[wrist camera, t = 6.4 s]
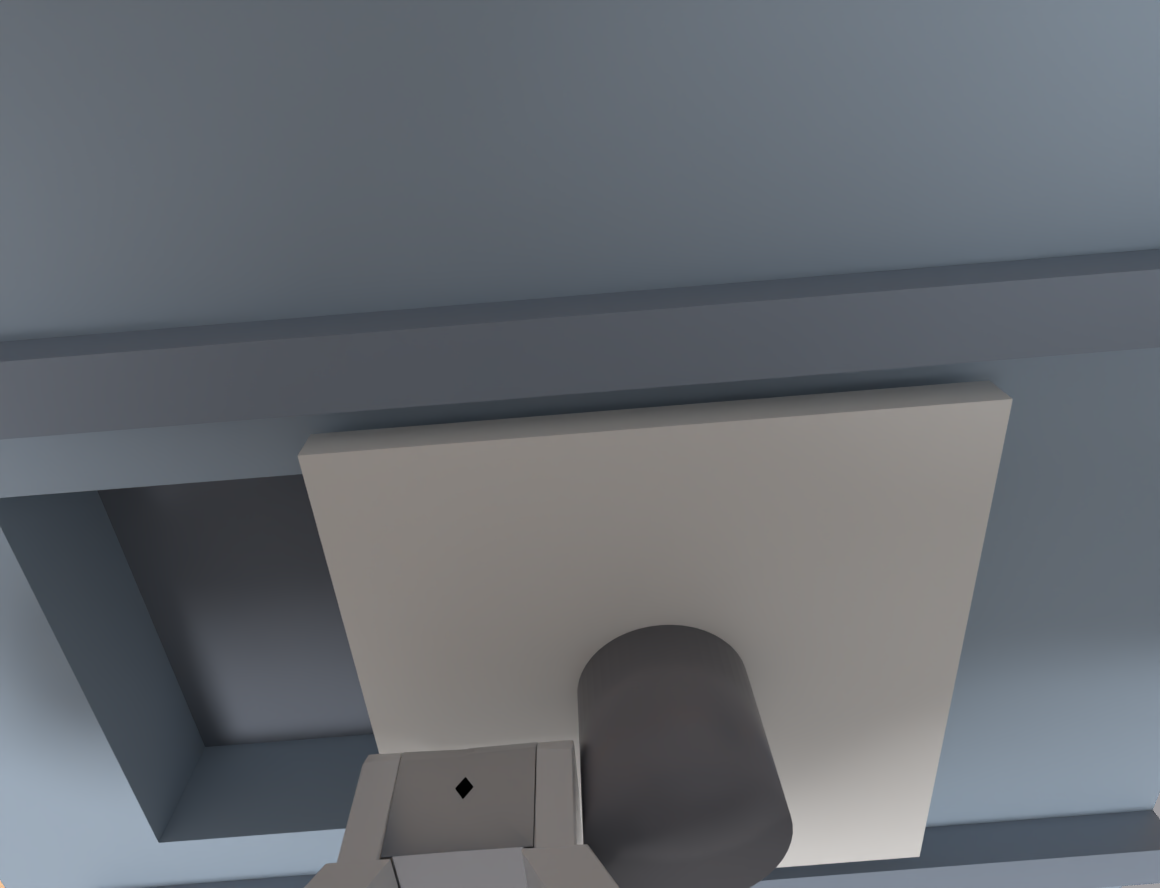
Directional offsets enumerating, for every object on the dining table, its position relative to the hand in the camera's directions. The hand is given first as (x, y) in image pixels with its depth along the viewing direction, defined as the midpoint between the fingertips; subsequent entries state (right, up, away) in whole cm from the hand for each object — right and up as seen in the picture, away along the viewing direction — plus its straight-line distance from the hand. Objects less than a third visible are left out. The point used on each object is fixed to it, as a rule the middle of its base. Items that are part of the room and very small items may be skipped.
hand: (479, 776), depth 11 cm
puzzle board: (+1, +2, +4) cm, 5 cm away
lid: (+3, +1, +1) cm, 3 cm away
